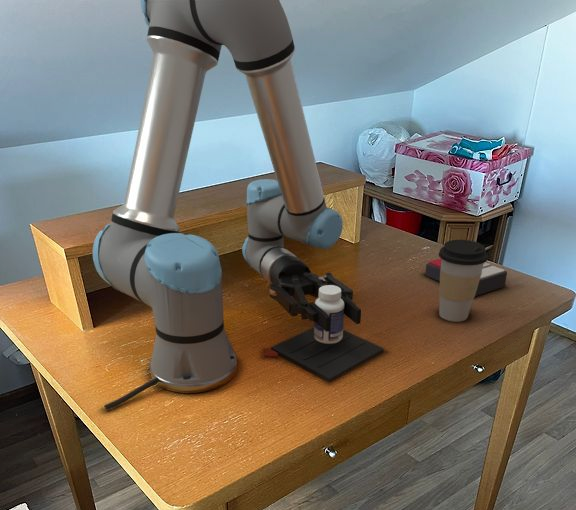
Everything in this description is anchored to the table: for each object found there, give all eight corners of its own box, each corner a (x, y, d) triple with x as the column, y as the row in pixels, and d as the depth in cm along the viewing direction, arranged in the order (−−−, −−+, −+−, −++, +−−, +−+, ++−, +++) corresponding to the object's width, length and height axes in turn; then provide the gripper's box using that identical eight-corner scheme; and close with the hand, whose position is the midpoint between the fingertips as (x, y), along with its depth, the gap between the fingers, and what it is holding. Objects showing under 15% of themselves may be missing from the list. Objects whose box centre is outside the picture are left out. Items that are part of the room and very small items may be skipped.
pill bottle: (344, 331, 113) (346, 284, 107) (340, 346, 109) (343, 297, 103) (316, 329, 114) (317, 282, 108) (311, 343, 109) (312, 294, 104)
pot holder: (319, 387, 103) (320, 383, 102) (258, 353, 112) (258, 349, 111) (383, 352, 113) (384, 347, 112) (322, 323, 122) (322, 319, 122)
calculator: (459, 251, 146) (508, 268, 135) (456, 268, 148) (505, 286, 137) (425, 260, 141) (474, 279, 130) (424, 277, 143) (472, 297, 132)
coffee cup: (477, 327, 121) (491, 257, 112) (429, 323, 122) (440, 253, 114) (474, 307, 128) (487, 239, 120) (430, 303, 130) (439, 236, 122)
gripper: (325, 281, 127) (386, 328, 109) (244, 298, 120) (296, 351, 103) (326, 247, 122) (390, 290, 105) (243, 263, 116) (296, 312, 98)
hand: (343, 320), depth 104 cm, fingers closed on pill bottle, 5 cm apart
